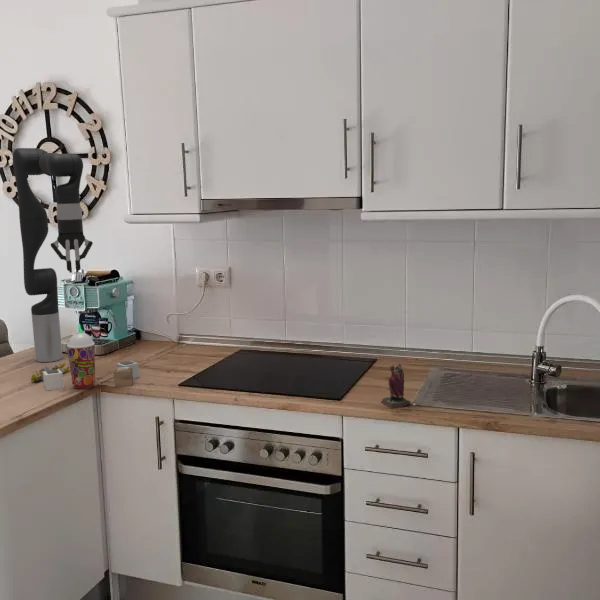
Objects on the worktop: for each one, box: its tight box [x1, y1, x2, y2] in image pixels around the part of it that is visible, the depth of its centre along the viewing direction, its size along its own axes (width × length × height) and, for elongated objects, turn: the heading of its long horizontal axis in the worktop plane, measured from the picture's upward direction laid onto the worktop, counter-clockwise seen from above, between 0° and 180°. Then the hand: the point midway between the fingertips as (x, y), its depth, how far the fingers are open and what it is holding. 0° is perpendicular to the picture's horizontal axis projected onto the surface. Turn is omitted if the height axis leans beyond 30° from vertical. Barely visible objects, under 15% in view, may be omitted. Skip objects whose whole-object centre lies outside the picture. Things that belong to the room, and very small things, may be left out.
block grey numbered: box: [115, 360, 140, 380], centre depth 228 cm, size 5×5×5 cm
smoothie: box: [66, 323, 96, 390], centre depth 219 cm, size 8×8×20 cm
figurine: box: [381, 363, 412, 410], centre depth 195 cm, size 6×6×12 cm
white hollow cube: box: [42, 369, 64, 392], centre depth 220 cm, size 5×5×5 cm
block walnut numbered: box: [113, 367, 134, 388], centre depth 221 cm, size 5×5×5 cm
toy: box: [30, 361, 70, 383], centre depth 231 cm, size 5×5×15 cm
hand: (73, 272), depth 224 cm, fingers closed
